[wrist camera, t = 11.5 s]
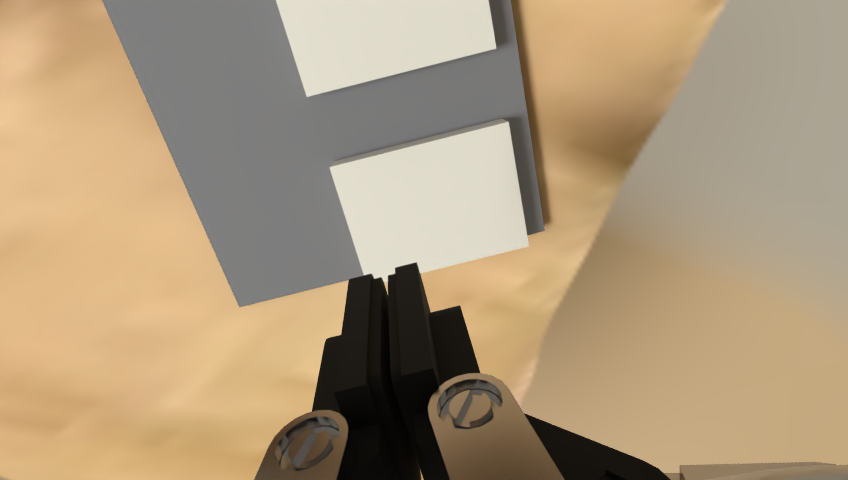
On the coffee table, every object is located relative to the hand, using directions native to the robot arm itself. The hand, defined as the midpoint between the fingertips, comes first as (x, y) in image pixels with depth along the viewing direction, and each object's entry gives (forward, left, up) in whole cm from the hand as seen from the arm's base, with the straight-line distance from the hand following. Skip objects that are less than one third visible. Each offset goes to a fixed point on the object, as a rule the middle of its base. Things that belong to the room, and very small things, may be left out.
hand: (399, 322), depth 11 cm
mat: (-4, -1, -12) cm, 13 cm away
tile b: (+1, -2, -11) cm, 11 cm away
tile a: (-8, -2, -11) cm, 14 cm away
